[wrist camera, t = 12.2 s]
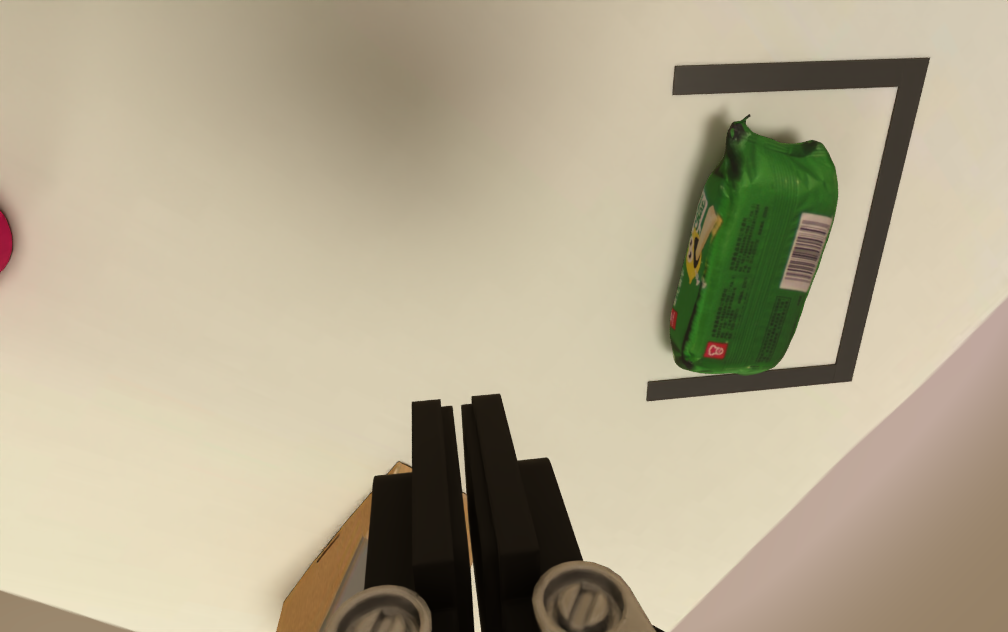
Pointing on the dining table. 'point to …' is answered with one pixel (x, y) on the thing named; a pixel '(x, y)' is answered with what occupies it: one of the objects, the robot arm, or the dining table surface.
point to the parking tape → (910, 85)
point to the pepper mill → (4, 242)
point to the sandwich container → (336, 573)
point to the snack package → (752, 253)
